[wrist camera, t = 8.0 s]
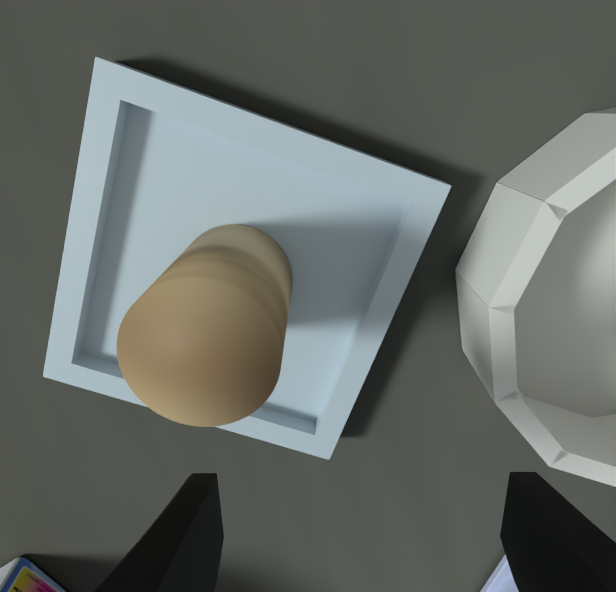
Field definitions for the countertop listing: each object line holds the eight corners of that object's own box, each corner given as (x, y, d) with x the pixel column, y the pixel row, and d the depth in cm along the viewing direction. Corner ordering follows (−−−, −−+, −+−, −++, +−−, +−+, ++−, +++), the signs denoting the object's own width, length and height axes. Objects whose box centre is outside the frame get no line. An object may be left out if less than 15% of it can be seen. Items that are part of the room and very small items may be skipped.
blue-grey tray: (328, 437, 22) (329, 459, 21) (61, 358, 21) (43, 376, 20) (441, 180, 18) (451, 185, 17) (114, 60, 17) (95, 56, 15)
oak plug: (273, 343, 20) (255, 444, 14) (169, 311, 19) (102, 401, 13) (307, 245, 18) (303, 310, 12) (195, 208, 18) (134, 256, 12)
